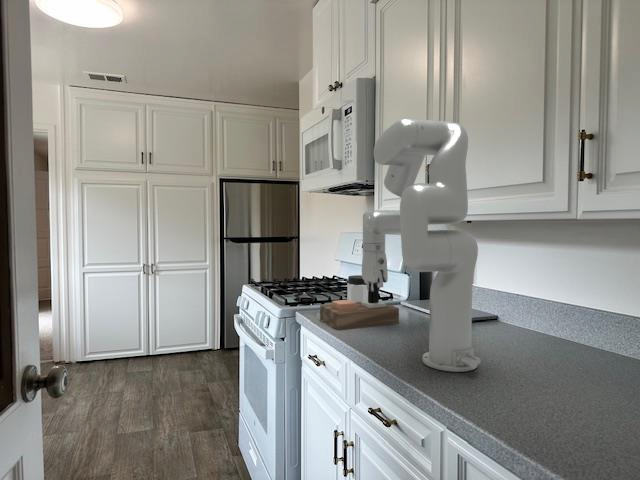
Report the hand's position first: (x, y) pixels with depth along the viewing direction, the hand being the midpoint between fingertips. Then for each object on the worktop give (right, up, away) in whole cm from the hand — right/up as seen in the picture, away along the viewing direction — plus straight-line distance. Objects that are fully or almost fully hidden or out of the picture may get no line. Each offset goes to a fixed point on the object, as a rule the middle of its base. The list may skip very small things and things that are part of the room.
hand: (373, 302), depth 143 cm
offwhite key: (0, -4, 0) cm, 4 cm away
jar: (-3, -5, +19) cm, 20 cm away
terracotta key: (-10, -3, -4) cm, 11 cm away
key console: (-5, -6, -2) cm, 8 cm away
